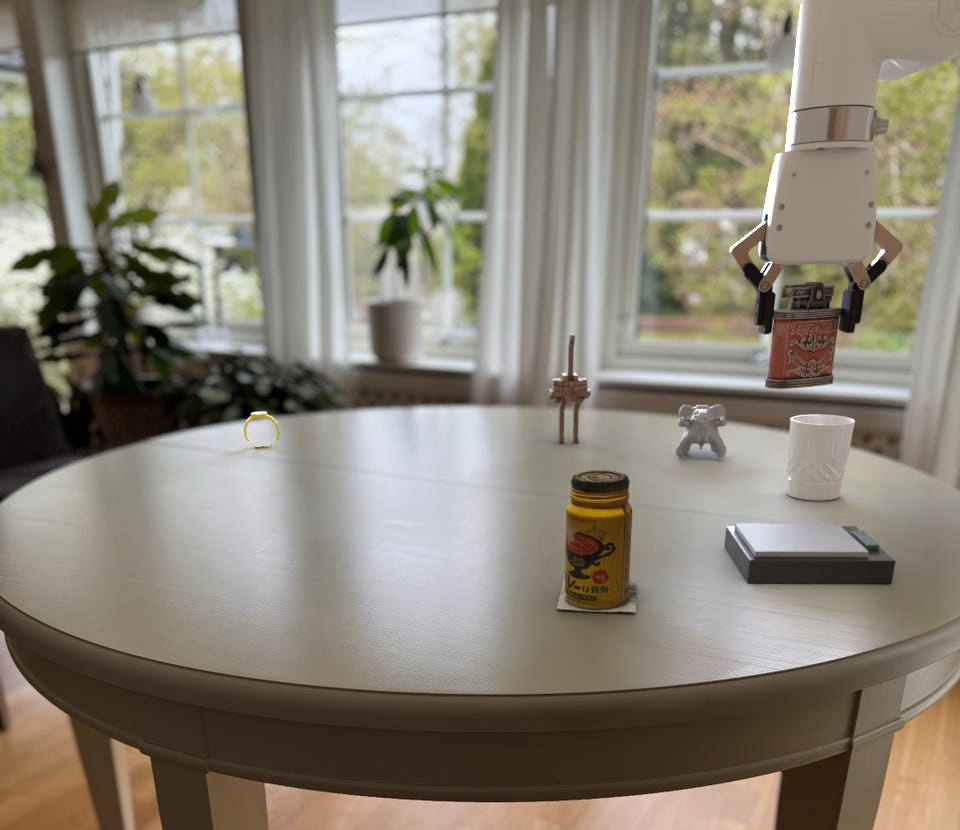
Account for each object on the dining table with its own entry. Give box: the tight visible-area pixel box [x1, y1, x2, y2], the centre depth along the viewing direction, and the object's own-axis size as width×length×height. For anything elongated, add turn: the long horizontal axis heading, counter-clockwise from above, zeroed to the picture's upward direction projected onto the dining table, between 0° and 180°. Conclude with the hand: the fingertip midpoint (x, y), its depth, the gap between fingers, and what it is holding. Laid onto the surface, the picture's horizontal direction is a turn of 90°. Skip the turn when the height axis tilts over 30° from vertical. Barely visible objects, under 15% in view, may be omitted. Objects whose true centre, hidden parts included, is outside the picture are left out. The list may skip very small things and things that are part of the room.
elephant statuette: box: [675, 403, 728, 459], centre depth 143 cm, size 9×12×8 cm
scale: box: [724, 522, 896, 585], centre depth 92 cm, size 14×12×3 cm
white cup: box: [785, 413, 856, 502], centre depth 117 cm, size 8×8×10 cm
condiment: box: [556, 470, 638, 613], centre depth 83 cm, size 7×8×12 cm
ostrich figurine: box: [548, 333, 592, 444], centre depth 156 cm, size 17×7×18 cm, turn 1°
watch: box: [243, 411, 281, 442], centre depth 154 cm, size 6×3×6 cm, turn 103°
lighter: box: [764, 281, 842, 390], centre depth 90 cm, size 8×3×10 cm, turn 114°
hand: (805, 331), depth 90 cm, fingers closed on lighter, 7 cm apart
